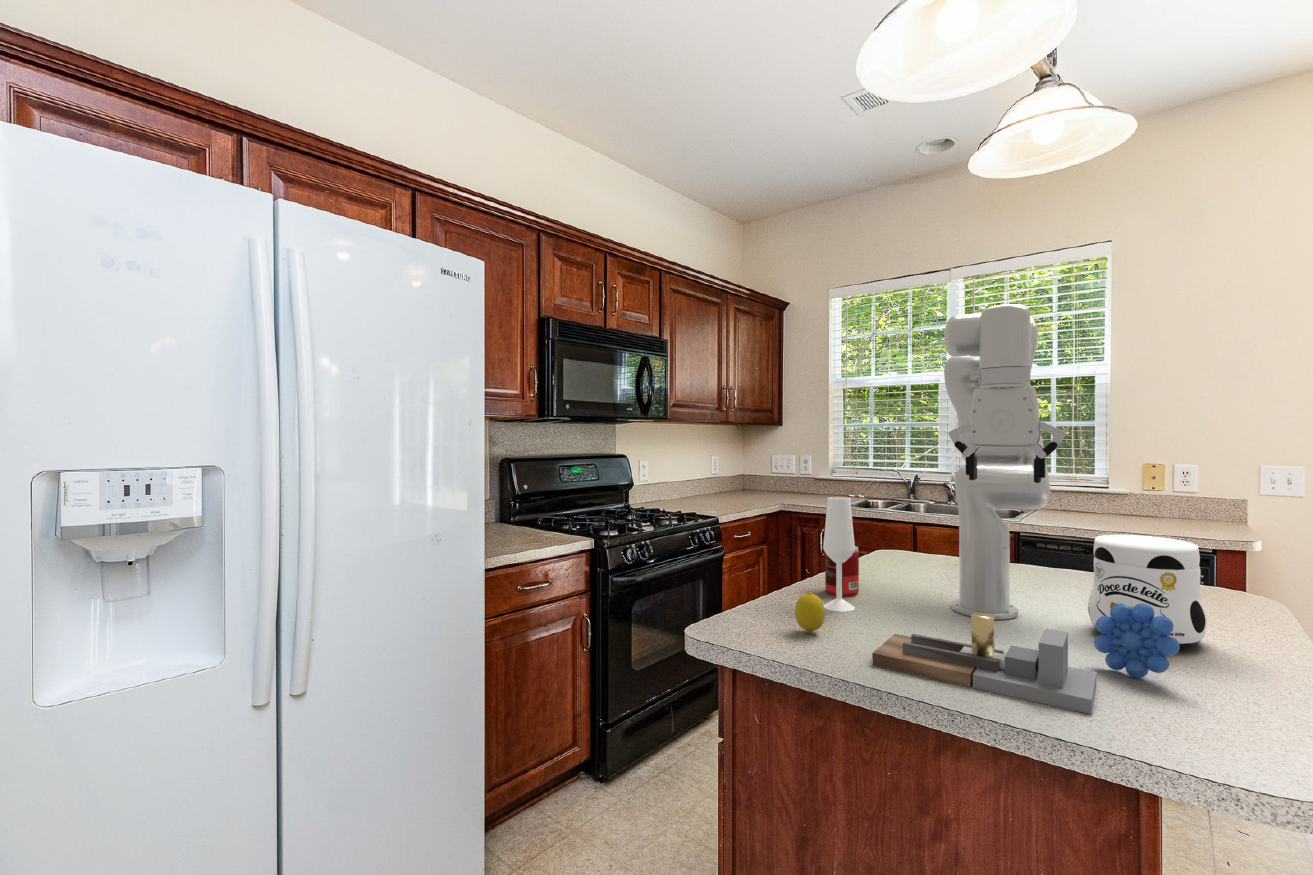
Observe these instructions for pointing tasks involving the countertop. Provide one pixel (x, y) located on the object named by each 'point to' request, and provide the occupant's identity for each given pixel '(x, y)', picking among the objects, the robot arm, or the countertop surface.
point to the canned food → (843, 575)
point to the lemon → (810, 612)
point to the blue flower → (1136, 640)
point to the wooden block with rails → (931, 658)
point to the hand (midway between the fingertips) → (1004, 480)
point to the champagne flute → (839, 544)
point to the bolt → (984, 639)
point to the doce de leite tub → (1150, 581)
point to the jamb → (1042, 675)
